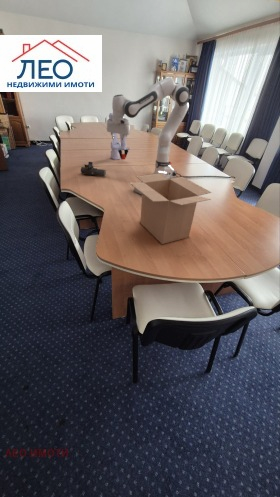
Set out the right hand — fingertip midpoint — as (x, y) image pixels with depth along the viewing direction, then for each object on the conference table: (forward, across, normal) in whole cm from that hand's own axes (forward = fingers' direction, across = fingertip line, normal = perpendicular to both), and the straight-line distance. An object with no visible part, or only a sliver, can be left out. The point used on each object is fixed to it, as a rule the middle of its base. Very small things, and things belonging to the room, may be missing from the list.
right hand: (118, 139), depth 179 cm
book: (+32, +37, -8) cm, 50 cm away
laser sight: (+32, -23, -6) cm, 40 cm away
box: (+32, +70, -57) cm, 96 cm away
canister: (+28, -23, +44) cm, 57 cm away
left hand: (+26, -23, +44) cm, 56 cm away
